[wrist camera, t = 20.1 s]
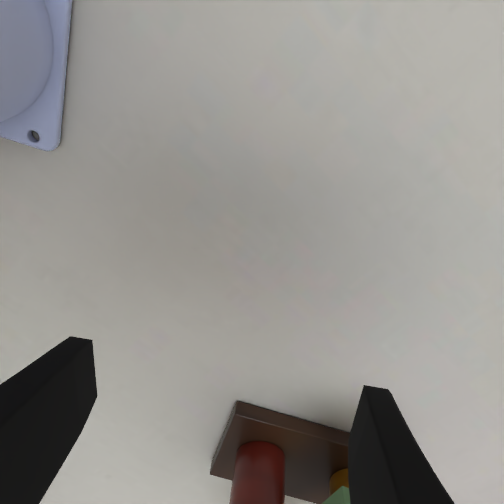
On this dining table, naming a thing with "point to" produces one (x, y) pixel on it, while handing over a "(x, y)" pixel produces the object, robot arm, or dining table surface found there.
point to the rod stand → (279, 457)
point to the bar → (339, 497)
